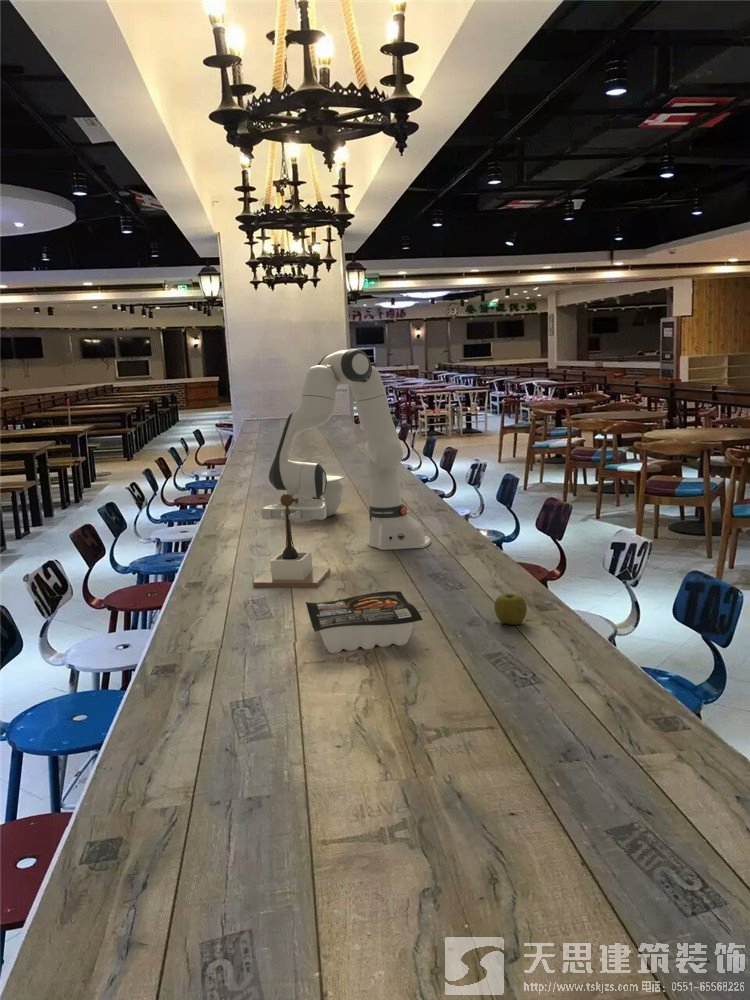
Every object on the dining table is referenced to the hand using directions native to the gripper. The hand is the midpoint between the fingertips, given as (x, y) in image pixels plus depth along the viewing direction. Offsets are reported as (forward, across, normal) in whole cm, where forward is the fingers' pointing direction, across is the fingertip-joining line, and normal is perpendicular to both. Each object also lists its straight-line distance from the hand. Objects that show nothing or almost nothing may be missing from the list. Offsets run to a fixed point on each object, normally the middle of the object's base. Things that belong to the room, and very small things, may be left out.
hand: (287, 517), depth 235 cm
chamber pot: (-96, -18, +20) cm, 100 cm away
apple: (+35, +67, +19) cm, 78 cm away
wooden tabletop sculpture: (-1, 0, +13) cm, 13 cm away
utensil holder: (-1, 0, +20) cm, 20 cm away
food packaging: (+46, +32, +20) cm, 59 cm away
